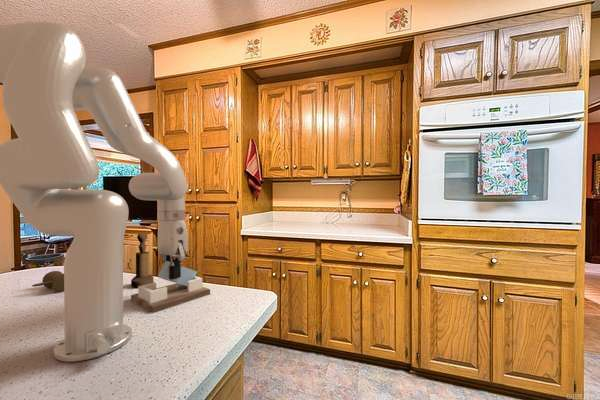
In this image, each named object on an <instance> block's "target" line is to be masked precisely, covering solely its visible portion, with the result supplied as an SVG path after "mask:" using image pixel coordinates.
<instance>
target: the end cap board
mask: <svg viewBox="0 0 600 400" xmlns="http://www.w3.org/2000/svg"><path fill="white" fill-rule="evenodd" d="M164 287H167V299H163V300H160V301H157V302H153V303H149V302H147V301H145V300H143V299H141V298H140V297H138V293H134V294H131V295H130V300H131V301H132V302H133V303H135V304H137V305H139V306H141V307H142V308H144V309H146V310H147V311H149V312H151V313H158V312H160V311H163V310H166V309H170V308H172V307H175V306H179V305H181V304H184V303H185V304H186V303H187V302H191V301H194V300H196V299H199V298H200V299H201V298H202V297H205V296H209V295H211V289H210V288H208V287H205V286H202V288H200V289H197V290H193V291H190V292H188V291H187V286H185V285H184V286H181V287H176V283H172V284H167V285H164V286H161V287H158V288H157V287H156V289H160V288H164Z"/></svg>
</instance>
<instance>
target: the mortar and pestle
mask: <svg viewBox="0 0 600 400" xmlns="http://www.w3.org/2000/svg"><path fill="white" fill-rule="evenodd" d="M136 238H137V240H138V242H139V245H138V250H139V251H138V252H135V276H133V278H131V281H130V287H131V288H135V289H137V288H138V286H142V285H146V284H151V283H155V282H154V276H153V275H152V274H150V252H149V251H146V249H147V244H146V241H147V239H148V234H147V233H146V232H139V233H138V234H137V236H136Z"/></svg>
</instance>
